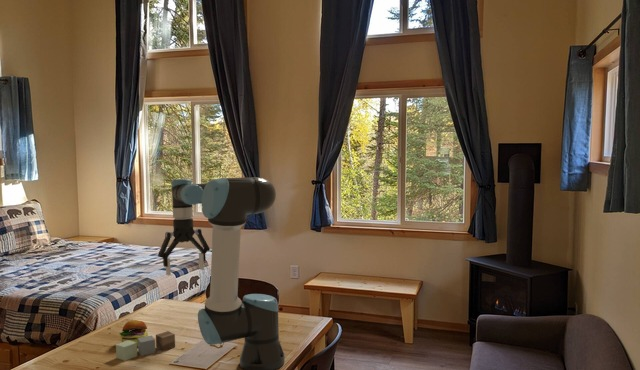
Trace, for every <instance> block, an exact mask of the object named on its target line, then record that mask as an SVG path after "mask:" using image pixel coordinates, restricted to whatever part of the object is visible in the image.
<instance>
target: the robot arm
mask: <svg viewBox="0 0 640 370" xmlns="http://www.w3.org/2000/svg"><path fill="white" fill-rule="evenodd" d="M170 189H171V198H172V200H171V201H172V203H171V204H172V218H174V219H173V220H172V224H173V225H172V226H173V232H171V231H170V232H169V231H166V232H165V234H164V235H165V236H164V237H165V238H164V239H163V242H162V244H161V247H160V249H159V252H158V254H157V257H159V258H162V260H163V261H162V263H163V264H162V265H163V267H165V274H166V276H171V258H170V255H171V254H172V253H173V251H174V249H175V248H176V247H177V246H178V245H179V243H185V242H186V243H188V242H190V243H192V244H193V245H194V247H196V249H198V251H199V252H198V263H199V265H198V267H199V270H201V271H204V270H205V263H204V262H205V261H206V254H207V252H209V251H210V250H211V262H210V264H211V265H210V286H209V287H210V290H209V297H207V298H206V299H205V301H204V308H201V309H199V310H198V312H197V323H198V328H199V331H200V333H201V336H202V339H203V340H204V342H205V343H206V344H207V345H209V346H213V345H214V346H215V345H219V344H220V345H222V344H224V343H227V342H232V341H237V340H240V339H244V343H243V347H242V350H241V354H240V356H239V366H240V368H241V369H242V370H277V369H280V368H282V367H283V366H284V365H285V361H286V360H285V353H284V350H283V347H282V344H281V341H280V337H279V336H280V332H279V329H280V328H279V326H280V325H279V311H280V309H279V304H278V300H277V298H276V297H274V296H272V295H270V294H269V295H268V294H264V293H250V294H245V295H244V296H243V297H242V300H241V298H239V296H238V291H239V289H238V288H239V274H240V273H239V269H240V255H241V254H240V253H241V251H240V250H241V232H242V227H243V226H245V224H246V223H247V216H248V215H257V214H262V213H263V212H264V213H265V212H266V211H267V210H269V209H270V208H271V207H272V206H273V205H274V203H275V201H276V198H277V192H276V188H275V186H274V185H273V183H271V181H269V180H268V179H266V178H263V177H256V176H253V177H252V176H250V177H222V178H214V179H211V180H209V181H208V182H207V183H192V180H191V179H190V178H178V179H177V178H176V179H175V178H174V179H172V181H171V187H170ZM199 204H200V205H201V207H202V208H201V211H202V212H201V213H202V214H203V216H204V217H205V218H207V222H208V223H209V224H210V226H212V239H211V249H210V247H209V244H208V243H207V241H206V239H205V237H204V236H203V234H202V233H203V232H202V229H201V228H196V229H194V219H193V216H194V210H193V206H194V205H199ZM194 235H196V236H197V238H198V240H199V242H200V243H201V244H200V243H199V242H198V241H197V240H196V239H195V237H194ZM172 237H173V238H174V239H173V240H172V242H171V243H170V240H171V238H172ZM169 243H170V245H169Z"/></svg>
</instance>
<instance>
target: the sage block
mask: <svg viewBox="0 0 640 370" xmlns="http://www.w3.org/2000/svg"><path fill="white" fill-rule="evenodd" d="M115 351H116V352H115V354H116V359H119V360H121V361H124V362H126V361H128V360H131V359H134V358H136V357H138V346H137V342H133V341H130V340H127V341H124V342H122V341H121V342H118V343H116V344H115Z"/></svg>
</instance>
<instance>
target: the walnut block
mask: <svg viewBox="0 0 640 370" xmlns="http://www.w3.org/2000/svg"><path fill="white" fill-rule="evenodd" d="M156 348H157V349H159V350H160V351H162V352H163V351H167V350H171V349H173V348H176V334H175V333H174V332H171V331H168V330H167V331H164V332H161V333H157V334H155V349H156Z"/></svg>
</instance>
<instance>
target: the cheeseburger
mask: <svg viewBox="0 0 640 370" xmlns="http://www.w3.org/2000/svg"><path fill="white" fill-rule="evenodd" d="M147 329H148V326H147V324H146V322H145V321H141V320H135V319H133V320H128V321H126V322H125V324H124V325H123V326H122V330H121V332H119V335H120V336H119V337H120V338H121V340H120V341H121V342H124V341H127V340H130V341H133V342H137V347H138V338H142V337H147V336H149V332H148V331H147Z"/></svg>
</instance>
